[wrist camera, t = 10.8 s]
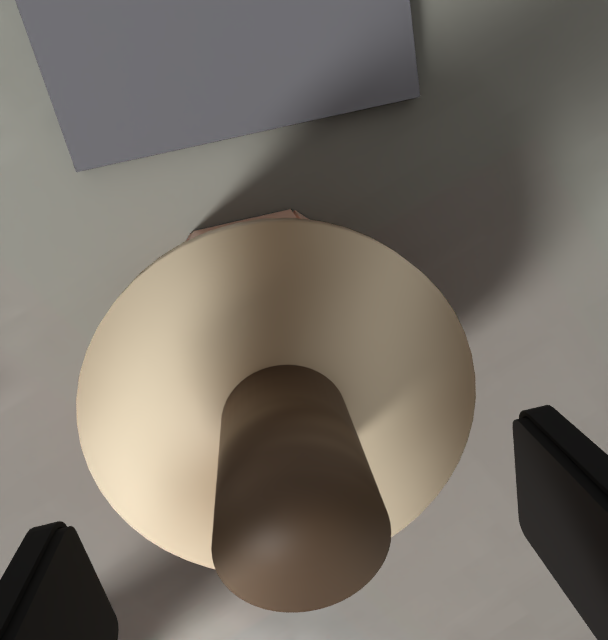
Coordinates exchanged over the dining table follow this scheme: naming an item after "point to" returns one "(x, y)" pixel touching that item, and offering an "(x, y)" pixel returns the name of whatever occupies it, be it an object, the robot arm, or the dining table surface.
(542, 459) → the robot arm
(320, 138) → the dining table surface
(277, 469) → the lid
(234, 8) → the mat
